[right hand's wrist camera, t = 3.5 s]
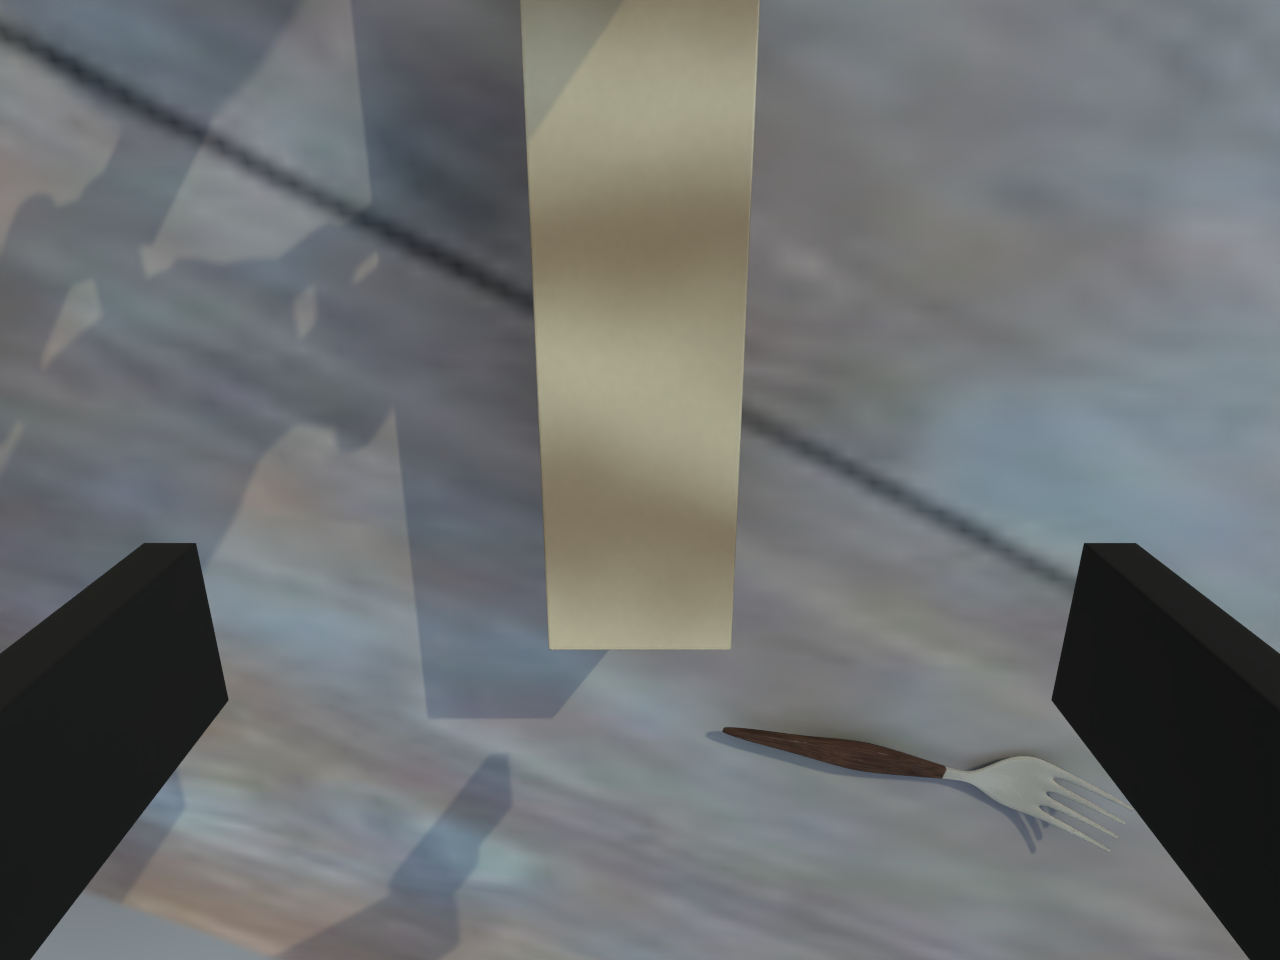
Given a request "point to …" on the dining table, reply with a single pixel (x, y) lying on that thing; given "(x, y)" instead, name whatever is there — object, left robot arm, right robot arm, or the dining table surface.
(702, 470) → the plank
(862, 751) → the fork
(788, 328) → the dining table surface
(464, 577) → the dining table surface
